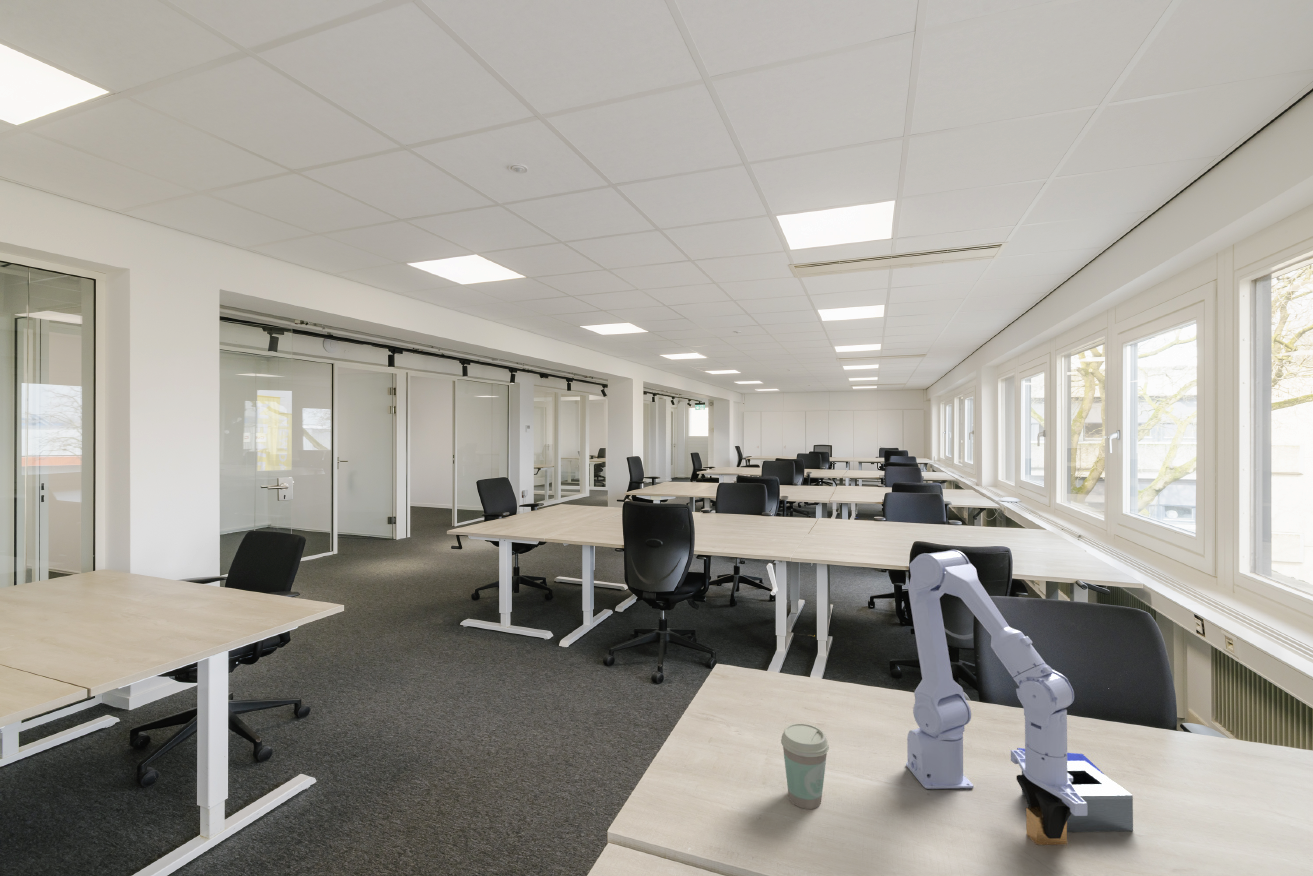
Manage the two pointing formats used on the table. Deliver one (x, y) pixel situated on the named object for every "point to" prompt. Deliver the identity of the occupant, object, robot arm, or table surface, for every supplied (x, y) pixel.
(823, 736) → the coffee cup
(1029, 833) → the orange rectangular block
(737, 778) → the table surface
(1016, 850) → the table surface
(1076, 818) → the grey block with slot
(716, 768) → the table surface
